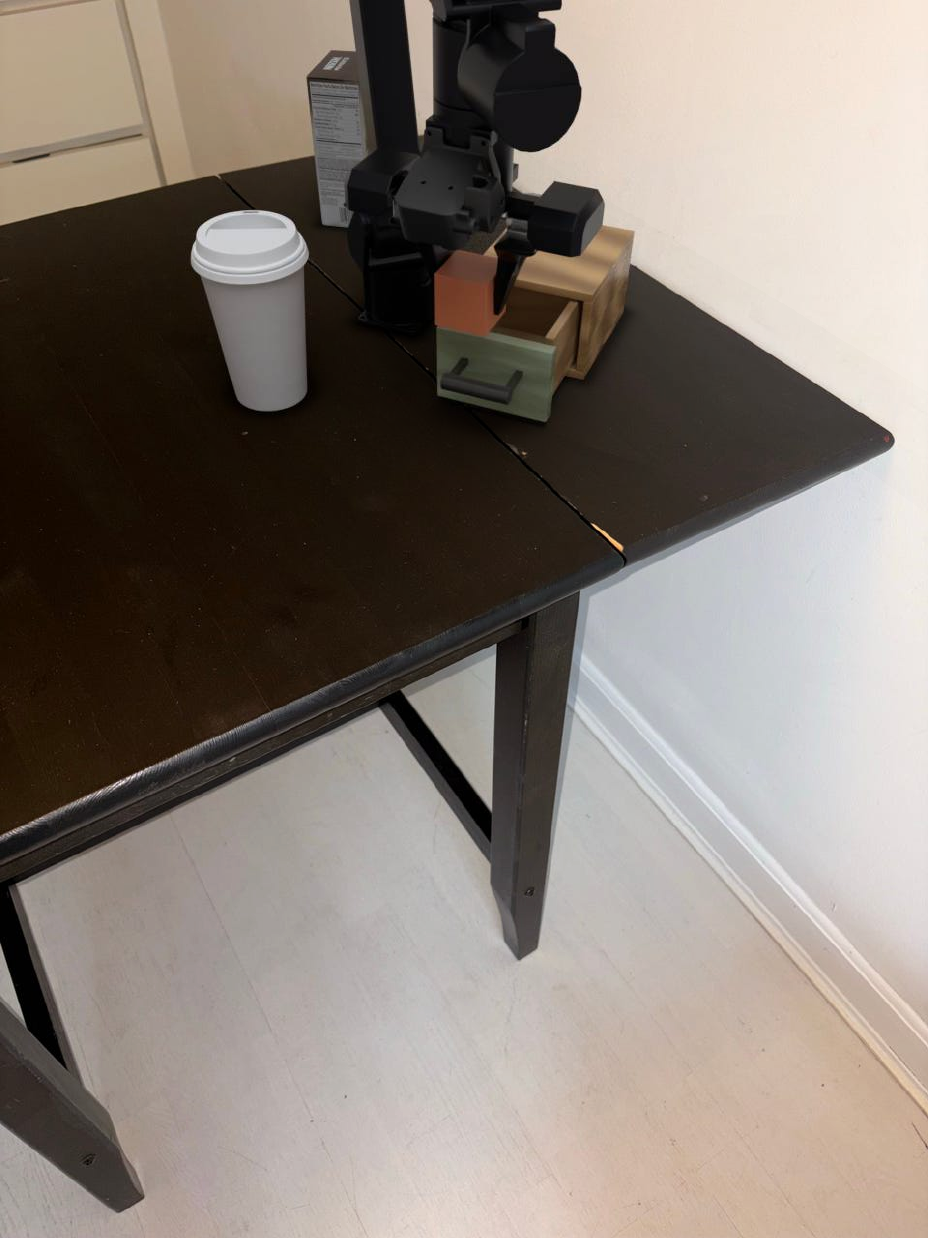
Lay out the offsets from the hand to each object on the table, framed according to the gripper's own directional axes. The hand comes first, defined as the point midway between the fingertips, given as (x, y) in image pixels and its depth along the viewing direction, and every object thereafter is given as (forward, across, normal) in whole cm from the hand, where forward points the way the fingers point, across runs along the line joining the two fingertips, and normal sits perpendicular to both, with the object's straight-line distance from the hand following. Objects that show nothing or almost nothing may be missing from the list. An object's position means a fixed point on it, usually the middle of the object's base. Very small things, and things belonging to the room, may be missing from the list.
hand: (470, 306), depth 76 cm
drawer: (+10, +1, +6) cm, 12 cm away
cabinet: (+11, +1, +17) cm, 21 cm away
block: (+1, 0, 0) cm, 1 cm away
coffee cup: (+12, -18, -3) cm, 22 cm away
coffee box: (+12, -29, +34) cm, 46 cm away
